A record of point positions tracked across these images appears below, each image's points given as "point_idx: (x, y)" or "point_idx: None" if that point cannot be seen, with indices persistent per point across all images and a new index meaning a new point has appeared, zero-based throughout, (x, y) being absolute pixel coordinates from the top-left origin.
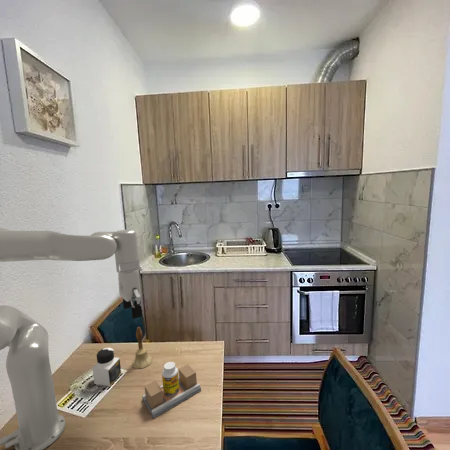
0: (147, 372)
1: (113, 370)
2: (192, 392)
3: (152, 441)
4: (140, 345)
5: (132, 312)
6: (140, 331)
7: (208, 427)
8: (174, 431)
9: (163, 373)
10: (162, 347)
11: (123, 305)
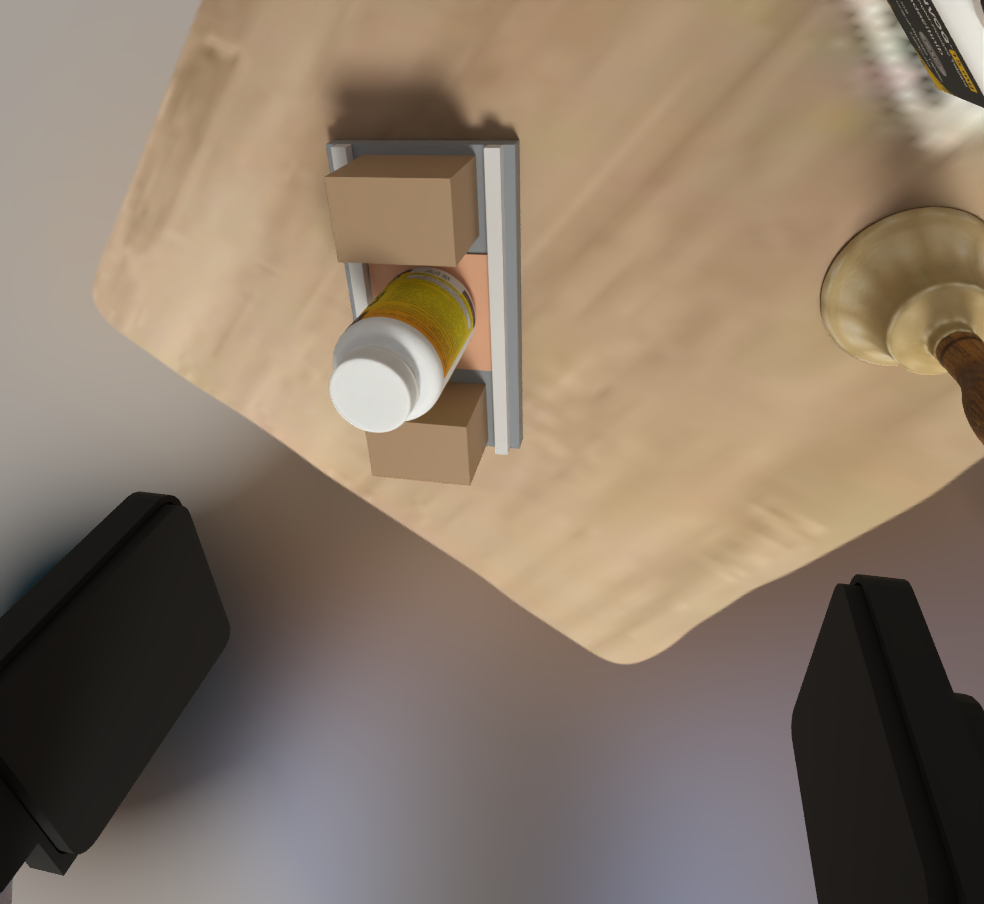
0: (752, 272)
1: (919, 6)
2: None
3: (198, 73)
4: (948, 356)
5: (25, 603)
6: None
7: (168, 330)
8: (209, 198)
9: (378, 331)
10: (930, 475)
11: (933, 654)
